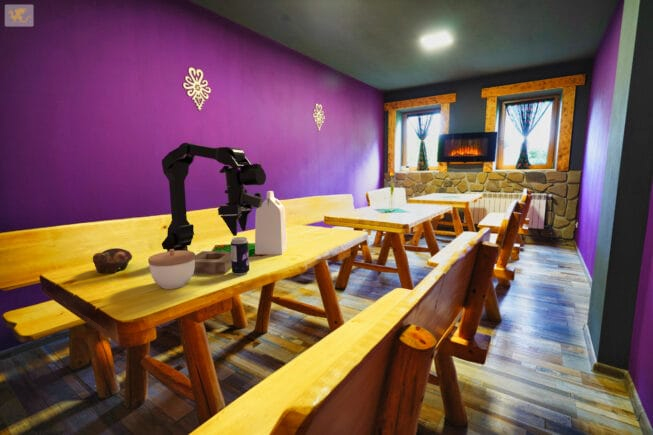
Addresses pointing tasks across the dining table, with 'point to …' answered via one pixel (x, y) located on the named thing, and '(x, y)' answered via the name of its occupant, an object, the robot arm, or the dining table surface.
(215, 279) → the dining table surface
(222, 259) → the socket
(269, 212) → the milk
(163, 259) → the lidded bowl
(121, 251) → the dark brown rounded lump
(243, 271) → the beverage can
